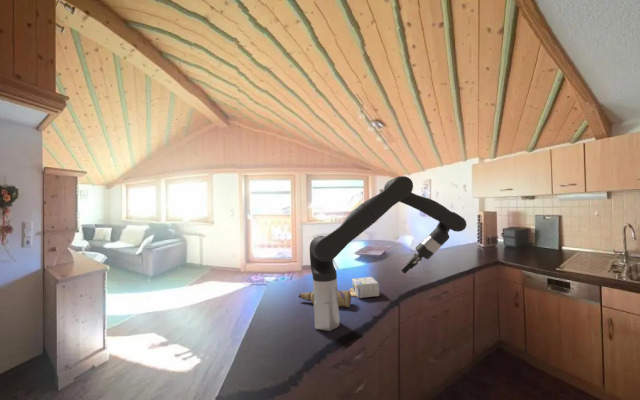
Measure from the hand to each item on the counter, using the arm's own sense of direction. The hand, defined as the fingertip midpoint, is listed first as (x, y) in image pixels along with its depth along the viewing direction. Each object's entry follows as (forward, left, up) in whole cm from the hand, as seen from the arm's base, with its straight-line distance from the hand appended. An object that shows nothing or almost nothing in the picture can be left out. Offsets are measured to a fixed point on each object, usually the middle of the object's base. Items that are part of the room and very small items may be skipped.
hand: (403, 271), depth 116 cm
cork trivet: (-3, +23, -11) cm, 26 cm away
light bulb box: (-2, +14, -7) cm, 15 cm away
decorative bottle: (-21, +33, -12) cm, 41 cm away
